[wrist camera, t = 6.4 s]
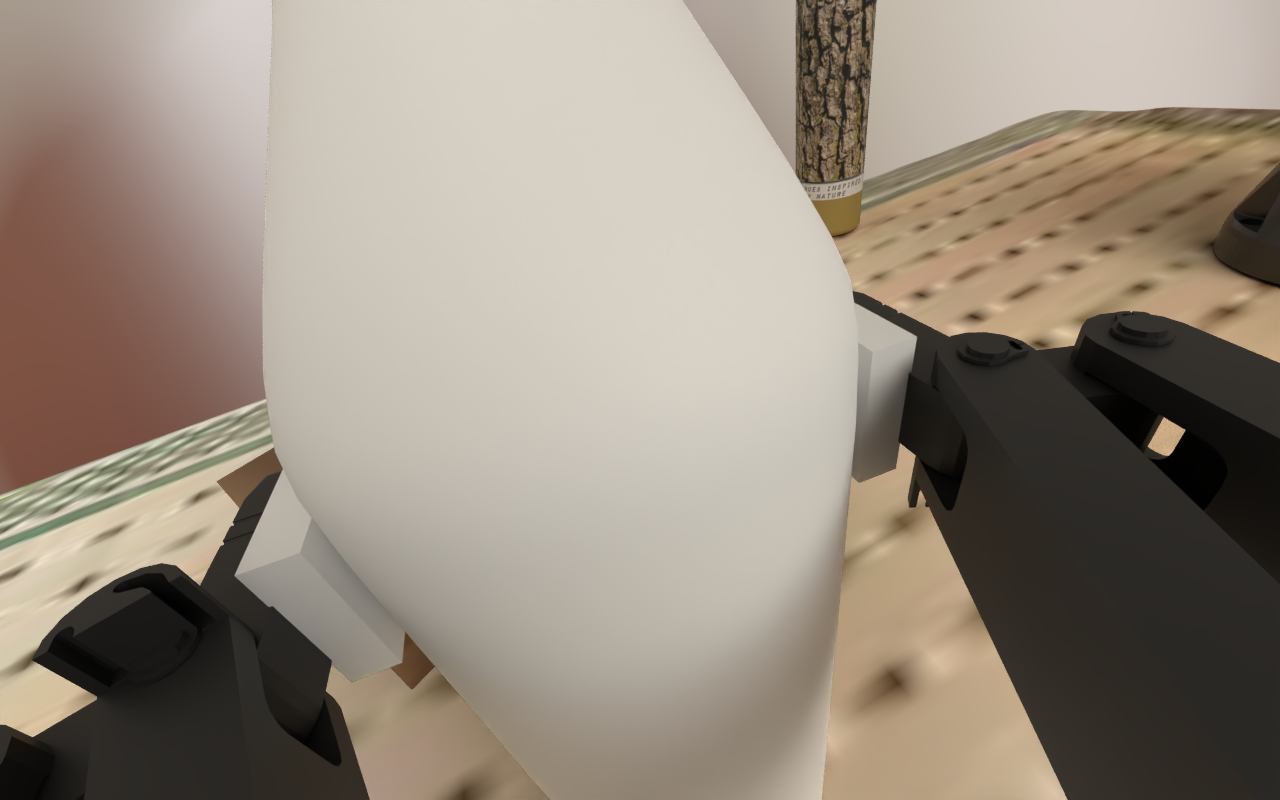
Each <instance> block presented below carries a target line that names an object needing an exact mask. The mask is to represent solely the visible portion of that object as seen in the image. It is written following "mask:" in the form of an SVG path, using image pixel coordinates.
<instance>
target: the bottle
mask: <svg viewBox="0 0 1280 800" xmlns="http://www.w3.org/2000/svg"><path fill="white" fill-rule="evenodd" d="M266 175H267V176H266V195H265V220H264V256H263V291H262V326H263V327H262V330H263V378H264V386H265V393H266V400H267V407H268V414H269V422H270V428H271V433H272V439H273V444H274V450H275V453H276V455H277V457H278V459H279V462H280V464H281V466H282V468H283V470H284V472H285V474H286V476H287V478H288V480H289V482H290V484H291V486H292V488H293V490H294V492H295V494H296V497H297V499H298V500H299V502H300V503H301V504H302V506H303V507H304V508H305V510H306V511H307V512H308V513H309V515H310V516H311V517H312V519H313V520H314V521H315V523H316V524H317V525H318V527H319V528H320V529H321V531H322V532H323V533H324V534H325V536H326V537H327V538H328V540H329V541H330V542H331V544H332V545H333V546H334V548H335V549H336V550H337V551H338V553H339V554H340V555H341V557H342V558H343V559H344V560H345V562H346V563H347V564H348V565H349V566H350V568H351V569H352V570H353V571H354V572H355V574H356V575H357V576H358V577H359V578H360V580H361V581H362V582H363V583H364V584H365V585H366V587H367V588H368V589H369V590H370V591H371V593H372V594H373V595H374V596H375V597H376V598H377V600H378V601H379V602H380V603H381V604H382V605H383V607H384V608H385V609H386V610H387V611H388V612H389V613H390V615H391V616H392V617H393V618H394V619H395V620H396V622H397V623H398V624H399V625H400V626H401V627H402V629H403V630H404V631H405V632H406V633H407V634H408V636H409V637H410V638H411V639H412V640H413V641H414V643H415V644H416V645H417V646H418V647H419V648H420V650H421V651H422V652H423V653H424V654H425V655H426V656H427V658H428V659H429V660H430V661H431V662H432V663H433V665H434V666H435V667H436V668H437V669H438V670H439V672H440V673H441V674H442V675H443V676H444V677H445V679H446V680H447V681H448V682H449V683H450V684H451V686H452V687H453V688H454V689H455V690H456V691H457V693H458V694H459V695H460V696H461V697H462V698H463V700H464V701H465V702H466V703H467V704H468V705H469V706H470V708H471V709H472V710H473V711H474V712H475V713H476V715H477V716H478V717H479V718H480V719H481V720H482V722H483V723H484V724H485V725H486V726H487V727H488V729H489V730H490V731H491V732H492V733H493V734H494V736H495V737H496V738H497V739H498V740H499V741H500V743H501V744H502V745H503V746H504V747H505V748H506V749H507V751H508V752H509V753H510V754H511V755H512V756H513V758H514V759H515V760H516V761H517V762H518V763H519V765H520V766H521V767H522V768H523V769H524V770H525V772H526V773H527V774H528V775H529V776H530V777H531V779H532V780H533V781H534V782H535V783H536V784H537V786H538V787H539V788H540V789H541V790H542V791H543V792H544V794H545V795H546V796H547V797H548V798H549V799H550V800H822V790H823V779H824V768H825V757H826V746H827V735H828V724H829V713H830V702H831V691H832V680H833V669H834V658H835V647H836V636H837V626H838V615H839V604H840V593H841V582H842V571H843V560H844V549H845V538H846V527H847V516H848V505H849V494H850V483H851V472H852V461H853V450H854V440H855V429H856V409H857V382H858V331H857V319H856V312H855V305H854V298H853V292H852V285H851V278H850V276H849V274H848V272H847V269H846V267H845V265H844V263H843V261H842V258H841V256H840V254H839V252H838V250H837V247H836V245H835V243H834V241H833V239H832V236H831V235H830V233H829V231H828V229H827V228H826V226H825V224H824V222H823V220H822V219H821V217H820V215H819V213H818V212H817V210H816V208H815V207H814V205H813V203H812V202H811V200H810V198H809V196H808V195H807V193H806V191H805V190H804V188H803V186H802V185H801V183H800V181H799V179H798V178H797V176H796V174H795V173H794V171H793V170H792V168H791V166H790V164H789V163H788V161H787V160H786V158H785V156H784V155H783V153H782V152H781V150H780V149H779V147H778V146H777V144H776V143H775V141H774V139H773V138H772V136H771V135H770V133H769V132H768V130H767V129H766V127H765V126H764V124H763V122H762V121H761V119H760V118H759V116H758V114H757V113H756V111H755V110H754V108H753V107H752V105H751V104H750V102H749V100H748V99H747V97H746V96H745V94H744V93H743V91H742V90H741V88H740V87H739V85H738V84H737V82H736V81H735V79H734V78H733V76H732V75H731V73H730V72H729V70H728V69H727V67H726V66H725V64H724V63H723V61H722V60H721V58H720V57H719V55H718V54H717V52H716V51H715V49H714V48H713V46H712V44H711V43H710V42H709V40H708V38H707V37H706V36H705V34H704V32H703V31H702V29H701V28H700V26H699V25H698V23H697V22H696V20H695V19H694V17H693V16H692V14H691V13H690V11H689V10H688V8H687V7H686V5H685V3H684V2H683V0H272V48H271V74H270V101H269V127H268V149H267V173H266Z"/></svg>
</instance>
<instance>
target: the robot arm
mask: <svg viewBox="0 0 1280 800" xmlns="http://www.w3.org/2000/svg"><path fill="white" fill-rule="evenodd" d="M1213 250H1214V253H1215V254H1216V256H1217V257H1218V258H1219V259H1220V260H1222V261H1223V262H1224V263H1226V264H1227V265H1229V266H1231V267H1233V268H1235V269H1237V270H1239V271H1241V272H1243V273H1246V274H1248V275H1251V276H1253V277H1256V278H1259V279H1262V280H1265V281H1268V282H1272V283H1275V284H1279V285H1280V163H1279V164H1278V165H1277V166H1276V167H1275V168H1274V169H1273V170H1272V171H1271V172H1270V173H1269V174H1268V175H1267V176H1266V177H1265V178H1264V179H1263V180H1262V181H1261V182H1260V183H1259V184H1258V185H1257V186H1256V187H1255V188H1254V189H1253V191H1252V192H1251V193H1250V194H1249V195H1248V196H1247V197H1246V198H1245V199H1244V200H1243V201H1242V202H1241V203H1240V204H1239V205H1238V206H1237V207H1236V208H1235V209H1234V210H1233V211H1232V212H1231V213H1230V215H1229V216H1228V217H1227V219H1226V220H1225V222H1224V224H1223V226H1222V228H1221V230H1220V232H1219V234H1218V236H1217V238H1216V240H1215V242H1214V245H1213ZM852 292H853V298H854V305H855V312H856V319H857V331H858V382H857V409H856V429H855V440H854V450H853V461H852V472H851V476H852V477H854V478H855V479H856V480H857V481H858V482H859V483H860V482H863V481H865V480H868V479H870V478H873V477H876V476H878V475H881V474H883V473H886V472H888V471H891V470H893V469H896V464H897V457H898V451H899V445H900V443H901V444H902V445H903V446H905V447H906V448H907V449H908V450H910V451H911V452H912V453H913V454H915V455H916V458H915V463H914V468H913V473H912V478H911V484H910V489H909V494H908V502H909V508H912V507H916V505H917V500H918V495H919V492H920V490H921V491H922V493H923V495H924V498H925V500H926V503H925V506H926V507H929V508H930V510H931V512H932V514H933V517H934V519H935V521H936V523H937V525H938V527H939V529H940V531H941V533H942V536H943V538H944V540H945V542H946V544H947V546H948V548H949V550H950V552H951V555H952V557H953V559H954V561H955V563H956V565H957V567H958V569H959V571H960V574H961V576H962V578H963V580H964V582H965V584H966V586H967V588H968V590H969V592H970V595H971V597H972V599H973V601H974V603H975V605H976V607H977V609H978V611H979V614H980V616H981V618H982V620H983V622H984V624H985V626H986V628H987V630H988V633H989V635H990V637H991V639H992V641H993V643H994V645H995V647H996V649H997V652H998V654H999V656H1000V658H1001V660H1002V662H1003V664H1004V666H1005V668H1006V671H1007V673H1008V675H1009V677H1010V679H1011V681H1012V683H1013V685H1014V687H1015V690H1016V692H1017V694H1018V696H1019V698H1020V700H1021V702H1022V704H1023V706H1024V709H1025V711H1026V713H1027V715H1028V717H1029V719H1030V721H1031V723H1032V725H1033V728H1034V730H1035V732H1036V734H1037V736H1038V738H1039V740H1040V742H1041V744H1042V746H1043V749H1044V751H1045V753H1046V755H1047V757H1048V759H1049V761H1050V763H1051V765H1052V768H1053V770H1054V772H1055V774H1056V776H1057V778H1058V780H1059V782H1060V784H1061V787H1062V789H1063V791H1064V793H1065V795H1066V797H1067V799H1068V800H1280V363H1278V362H1276V361H1274V360H1271V359H1269V358H1266V357H1264V356H1262V355H1259V354H1257V353H1254V352H1252V351H1250V350H1247V349H1245V348H1242V347H1240V346H1237V345H1235V344H1233V343H1230V342H1228V341H1225V340H1223V339H1221V338H1218V337H1216V336H1213V335H1211V334H1209V333H1206V332H1204V331H1201V330H1199V329H1197V328H1194V327H1192V326H1189V325H1187V324H1185V323H1182V322H1179V321H1175V320H1172V319H1169V318H1166V317H1162V316H1156V315H1150V314H1149V313H1146V312H1136V311H1133V312H1132V313H1131V312H1130V311H1121V312H1116V313H1107V314H1100V315H1097V316H1095V317H1092V318H1089V319H1087V320H1086V322H1085V323H1084V324H1083V325H1082V327H1081V330H1080V333H1079V335H1078V338H1077V340H1076V343H1075V346H1069V347H1061V348H1053V349H1045V350H1037V351H1036V350H1035V349H1034V348H1032V347H1031V346H1029V345H1027V344H1026V343H1024V342H1023V341H1021V340H1018V339H1015V338H1012V337H1009V336H1006V335H1000V334H993V333H987V332H977V333H963V334H958V335H953V336H951V337H948V336H946V335H944V334H942V333H940V332H938V331H936V330H934V329H933V328H931V327H929V326H927V325H925V324H923V323H921V322H919V321H917V320H915V319H913V318H911V317H909V316H907V315H905V314H903V313H898V312H897V310H895V309H893V308H891V307H889V306H887V305H882V303H881V302H879V301H877V300H875V299H873V298H871V297H869V296H867V295H865V294H863V293H859V292H854V291H852ZM1164 417H1165V418H1166V419H1168V420H1170V421H1171V422H1173V423H1175V424H1177V425H1178V426H1180V427H1182V428H1183V429H1185V430H1186V431H1185V432H1184V434H1183V436H1182V437H1181V439H1180V441H1179V442H1178V444H1177V446H1176V447H1175V449H1174V451H1173V452H1172V453H1171V454H1170V455H1169V456H1164V455H1161V454H1159V453H1157V452H1155V451H1153V450H1152V449H1150V448H1148V445H1149V443H1150V441H1151V439H1152V438H1153V436H1154V434H1155V432H1156V430H1157V429H1158V427H1159V425H1160V423H1161V421H1162V419H1163V418H1164ZM233 523H234V526H231V527H230V528H229V530H228V532H227V534H226V536H225V538H224V540H223V542H224V545H222V546H220V548H219V550H218V552H217V554H216V556H215V557H214V559H213V561H212V563H211V565H210V567H209V569H208V571H207V573H206V575H205V577H204V579H203V581H202V583H201V585H198V584H197V583H196V582H195V581H194V580H192V579H191V578H190V577H189V576H188V575H186V574H185V573H184V572H183V571H182V570H180V569H179V568H178V567H177V566H175V565H169V564H163V563H161V564H157V565H152V566H148V567H144V568H140V569H138V570H136V571H133V572H131V573H129V574H127V575H125V576H122V577H120V578H118V579H116V580H114V581H112V582H111V583H109V584H108V585H106V586H104V587H103V588H101V589H100V590H98V591H97V592H95V593H93V594H92V595H90V596H89V597H87V598H86V599H85V600H84V601H82V602H81V603H80V604H79V605H77V606H76V607H75V608H74V609H73V610H71V611H70V612H69V613H68V614H67V615H65V616H64V617H63V618H62V619H61V620H60V621H59V622H58V623H57V624H56V626H55V627H54V628H53V629H52V630H51V631H50V632H49V633H48V634H47V636H46V637H45V638H44V639H43V640H42V642H41V644H40V646H39V648H38V650H37V651H36V653H35V655H34V657H33V659H32V660H33V661H34V662H36V663H38V664H40V665H42V666H43V667H45V668H47V669H49V670H51V671H52V672H54V673H56V674H58V675H60V676H61V677H63V678H65V679H67V680H69V681H70V682H72V683H74V684H76V685H78V686H79V687H81V688H83V689H85V690H87V691H88V692H90V693H92V694H94V695H96V696H97V700H96V701H94V702H92V703H91V704H89V705H87V706H85V707H84V708H82V709H80V710H79V711H77V712H75V713H73V714H72V715H70V716H68V717H67V718H65V719H63V720H62V721H60V722H58V723H56V724H55V725H53V726H51V727H50V728H48V729H46V730H45V731H43V732H41V733H39V734H38V735H36V736H34V737H31V736H28V735H26V734H24V733H22V732H20V731H17V730H15V729H13V728H11V727H9V726H6V725H0V800H370V799H369V796H368V793H367V789H366V786H365V783H364V780H363V777H362V774H361V770H360V767H359V764H358V761H357V758H356V755H355V751H354V748H353V745H352V742H351V739H350V735H349V732H348V729H347V726H346V723H345V720H344V716H343V713H342V710H341V707H340V706H339V705H338V703H337V702H336V700H335V699H334V698H333V697H332V696H331V695H330V694H328V693H327V692H326V687H327V682H328V678H329V673H330V668H331V664H332V665H333V666H334V667H335V668H336V669H338V670H339V671H340V672H341V673H342V674H343V675H344V676H345V677H346V678H347V679H349V680H350V681H351V682H355V681H357V680H360V679H362V678H365V677H367V676H370V675H372V674H375V673H377V672H380V671H382V670H385V669H388V668H390V667H393V666H395V665H398V664H400V663H402V659H403V649H404V638H405V631H404V630H403V629H402V627H401V626H400V625H399V624H398V623H397V622H396V620H395V619H394V618H393V617H392V616H391V615H390V613H389V612H388V611H387V610H386V609H385V608H384V607H383V605H382V604H381V603H380V602H379V601H378V600H377V598H376V597H375V596H374V595H373V594H372V593H371V591H370V590H369V589H368V588H367V587H366V585H365V584H364V583H363V582H362V581H361V580H360V578H359V577H358V576H357V575H356V574H355V572H354V571H353V570H352V569H351V568H350V566H349V565H348V564H347V563H346V562H345V560H344V559H343V558H342V557H341V555H340V554H339V553H338V551H337V550H336V549H335V548H334V546H333V545H332V544H331V542H330V541H329V540H328V538H327V537H326V536H325V534H324V533H323V532H322V531H321V529H320V528H319V527H318V525H317V524H316V523H315V521H314V520H313V519H312V517H311V516H310V515H309V513H308V512H307V511H306V510H305V508H304V507H303V506H302V504H301V503H300V502H299V500H298V499H297V497H296V494H295V492H294V490H293V488H292V486H291V484H290V482H289V480H288V478H287V476H286V474H285V472H284V470H282V471H280V472H277V473H274V474H271V475H268V476H266V477H265V478H264V479H263V480H262V481H261V482H260V483H259V484H258V486H257V487H256V488H255V489H254V490H253V491H252V492H251V493H250V494H249V495H248V496H247V497H246V498H245V499H244V501H243V503H242V505H241V507H240V509H239V511H238V513H237V515H236V517H235V519H234V521H233Z"/></svg>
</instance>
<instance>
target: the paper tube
mask: <svg viewBox="0 0 1280 800" xmlns="http://www.w3.org/2000/svg"><path fill="white" fill-rule="evenodd" d="M876 1H877V0H796V176H797V178H798V179H799V181H800V183H801V185H802V186H803V188H804V190H805V191H806V193H807V195H808V196H809V198H810V200H811V202H812V203H813V205H814V207H815V208H816V210H817V212H818V213H819V215H820V217H821V219H822V220H823V222H824V224H825V226H826V228H827V229H828V231H829V233H830V235H831V236H838V235H842V234H845V233H848V232H850V231H852V230H853V229H855V228H856V227H857V225H858V224H859V221H860V211H861V198H862V188H863V175H864V171H863V170H864V161H865V160H864V159H865V148H866V135H867V120H868V108H869V94H870V81H871V68H872V54H873V41H874V28H875V13H876Z"/></svg>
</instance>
